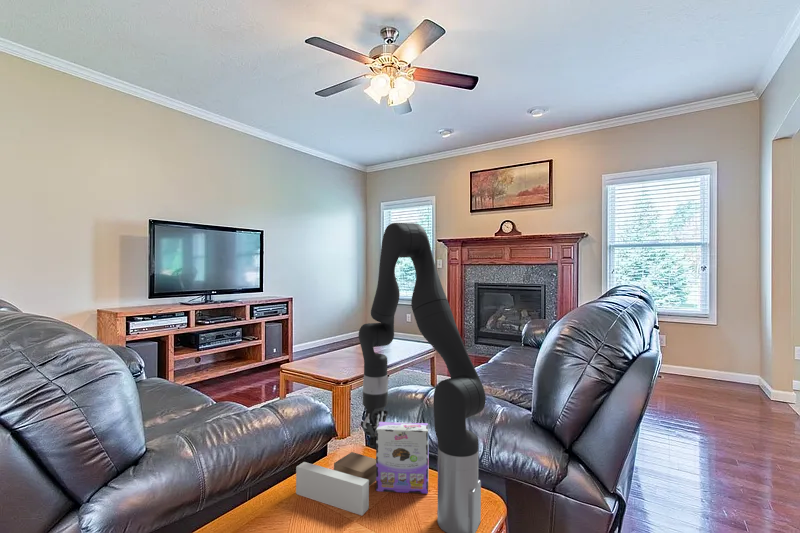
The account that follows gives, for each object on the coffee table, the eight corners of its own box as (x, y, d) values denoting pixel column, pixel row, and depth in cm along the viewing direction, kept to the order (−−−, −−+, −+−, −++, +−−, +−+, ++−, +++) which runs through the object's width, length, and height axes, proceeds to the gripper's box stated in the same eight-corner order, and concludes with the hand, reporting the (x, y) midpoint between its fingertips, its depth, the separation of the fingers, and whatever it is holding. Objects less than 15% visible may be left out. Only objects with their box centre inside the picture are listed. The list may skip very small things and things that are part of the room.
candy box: (428, 482, 109) (429, 422, 109) (428, 495, 103) (428, 431, 103) (378, 479, 110) (379, 420, 110) (375, 491, 104) (375, 428, 104)
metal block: (380, 478, 111) (380, 460, 111) (363, 491, 104) (363, 472, 104) (351, 469, 116) (351, 451, 116) (333, 481, 110) (333, 463, 110)
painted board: (368, 508, 97) (368, 479, 97) (362, 515, 94) (362, 485, 94) (303, 488, 105) (304, 461, 106) (296, 493, 103) (296, 466, 103)
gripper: (375, 397, 112) (374, 459, 112) (396, 385, 124) (395, 441, 124) (352, 393, 115) (351, 453, 115) (375, 382, 127) (374, 436, 127)
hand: (374, 447), depth 120 cm, fingers closed
